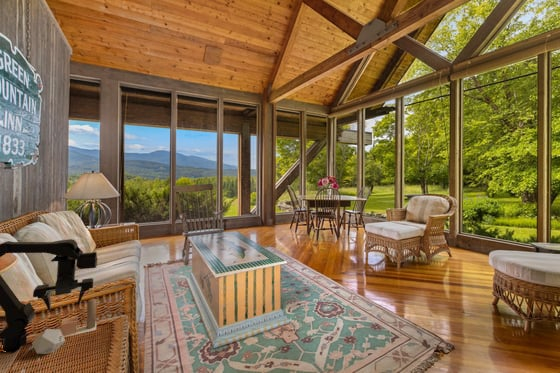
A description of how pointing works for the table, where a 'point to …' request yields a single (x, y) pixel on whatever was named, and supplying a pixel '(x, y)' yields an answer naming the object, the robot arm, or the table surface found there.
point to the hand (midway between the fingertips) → (64, 307)
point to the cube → (69, 326)
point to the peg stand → (88, 318)
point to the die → (48, 341)
